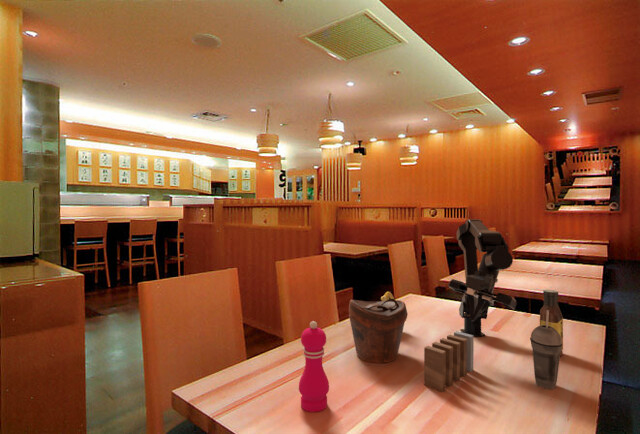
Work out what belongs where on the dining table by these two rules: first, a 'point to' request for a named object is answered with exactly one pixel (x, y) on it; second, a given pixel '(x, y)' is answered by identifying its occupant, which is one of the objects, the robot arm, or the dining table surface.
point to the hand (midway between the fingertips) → (472, 320)
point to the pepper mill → (313, 370)
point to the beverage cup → (546, 354)
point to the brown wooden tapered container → (377, 328)
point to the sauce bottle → (552, 312)
